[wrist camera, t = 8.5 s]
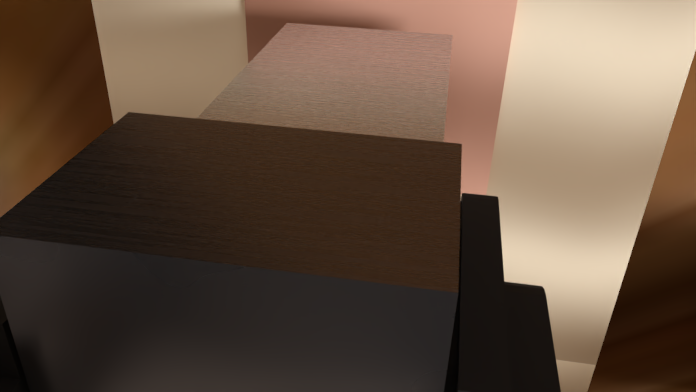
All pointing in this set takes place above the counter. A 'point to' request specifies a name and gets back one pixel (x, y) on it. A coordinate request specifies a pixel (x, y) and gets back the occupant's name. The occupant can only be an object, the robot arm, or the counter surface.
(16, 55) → the counter surface
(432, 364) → the plug
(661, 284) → the counter surface
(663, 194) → the counter surface
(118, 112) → the socket board
